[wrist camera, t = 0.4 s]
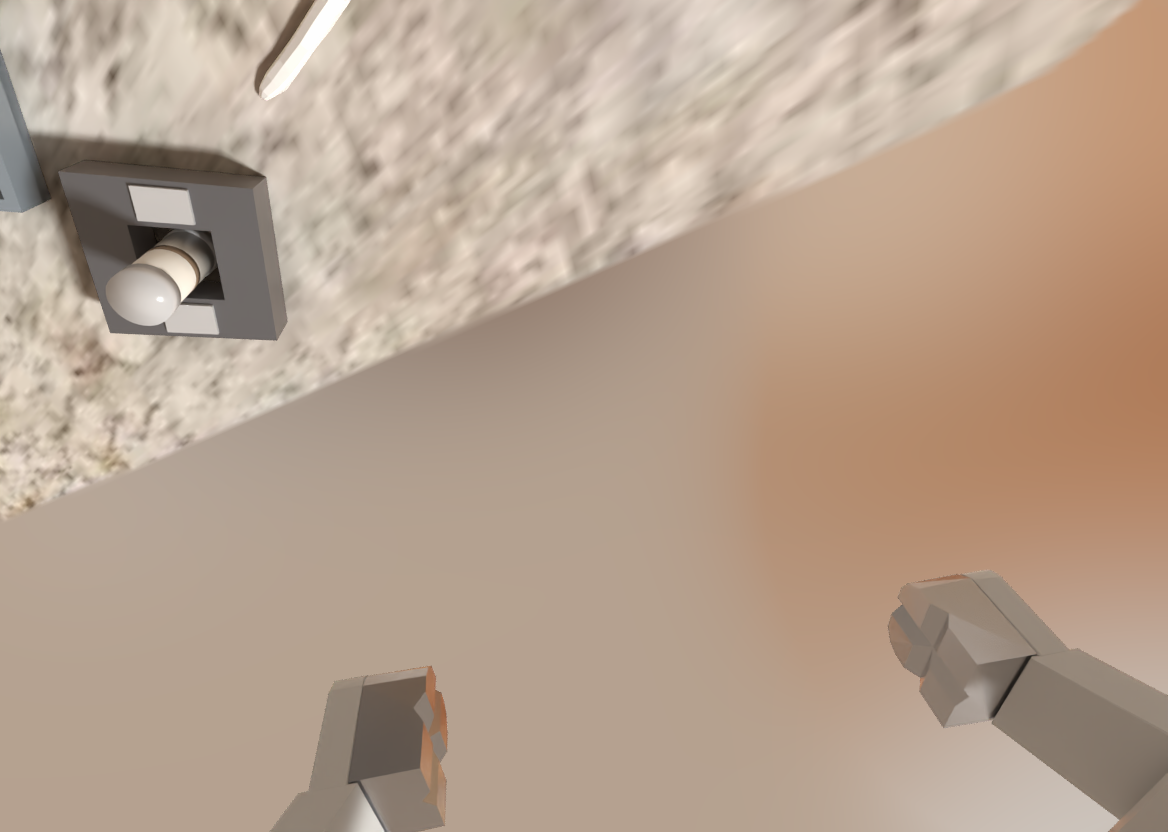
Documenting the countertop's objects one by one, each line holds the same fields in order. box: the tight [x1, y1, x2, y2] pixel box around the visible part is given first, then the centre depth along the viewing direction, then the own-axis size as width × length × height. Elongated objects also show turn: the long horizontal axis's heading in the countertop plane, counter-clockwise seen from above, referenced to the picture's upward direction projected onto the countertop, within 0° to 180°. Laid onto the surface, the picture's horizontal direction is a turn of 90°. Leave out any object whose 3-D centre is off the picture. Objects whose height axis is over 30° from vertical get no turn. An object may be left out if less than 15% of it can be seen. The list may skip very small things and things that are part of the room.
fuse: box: [106, 228, 218, 326], centre depth 44 cm, size 4×4×10 cm
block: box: [58, 160, 287, 340], centre depth 47 cm, size 12×12×4 cm
